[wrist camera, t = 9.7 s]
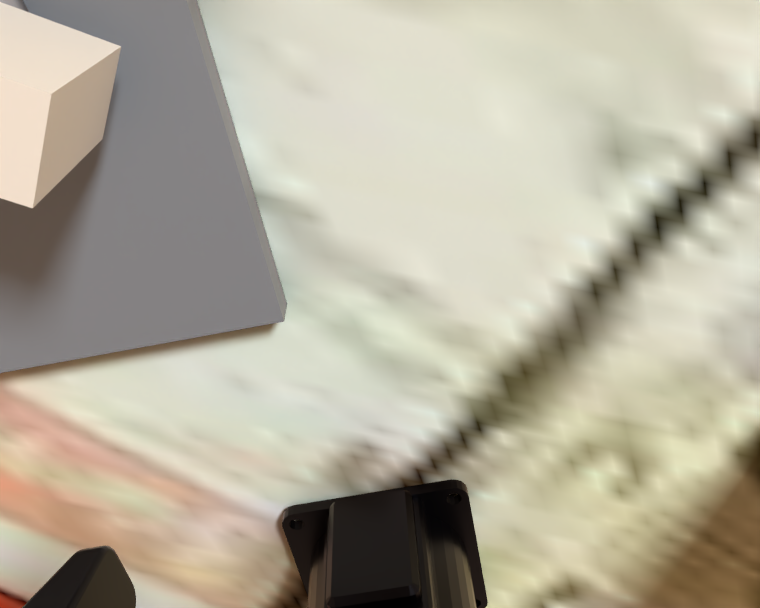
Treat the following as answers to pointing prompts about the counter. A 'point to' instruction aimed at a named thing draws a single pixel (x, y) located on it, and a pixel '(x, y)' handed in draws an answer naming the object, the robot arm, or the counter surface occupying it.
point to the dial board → (140, 207)
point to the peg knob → (48, 100)
